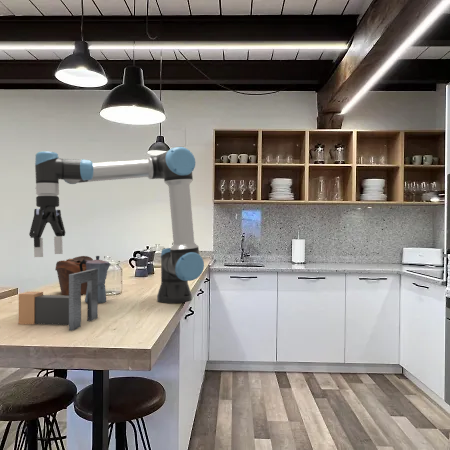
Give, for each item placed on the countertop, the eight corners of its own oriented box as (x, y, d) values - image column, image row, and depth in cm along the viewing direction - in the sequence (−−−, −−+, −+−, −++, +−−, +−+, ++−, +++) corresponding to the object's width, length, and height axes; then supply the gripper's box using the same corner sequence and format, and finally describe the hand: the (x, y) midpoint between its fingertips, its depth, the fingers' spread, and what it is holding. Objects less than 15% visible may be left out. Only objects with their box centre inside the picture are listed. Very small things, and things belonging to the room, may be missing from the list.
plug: (81, 321, 141) (81, 292, 141) (73, 325, 136) (73, 295, 136) (28, 320, 143) (28, 291, 143) (18, 324, 138) (18, 294, 138)
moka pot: (105, 304, 172) (105, 256, 172) (72, 303, 175) (72, 256, 175) (116, 300, 181) (116, 255, 182) (84, 299, 185) (84, 254, 185)
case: (55, 297, 188) (56, 258, 189) (54, 291, 207) (55, 255, 207) (96, 295, 195) (96, 257, 196) (91, 290, 214) (92, 255, 214)
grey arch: (97, 317, 147) (97, 268, 147) (73, 330, 129) (73, 274, 129) (93, 317, 147) (93, 268, 147) (68, 330, 129) (68, 274, 129)
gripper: (55, 198, 160) (56, 252, 160) (16, 193, 135) (18, 258, 135) (73, 197, 159) (75, 252, 159) (38, 193, 134) (40, 258, 134)
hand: (49, 255), depth 147 cm, fingers open, 13 cm apart
